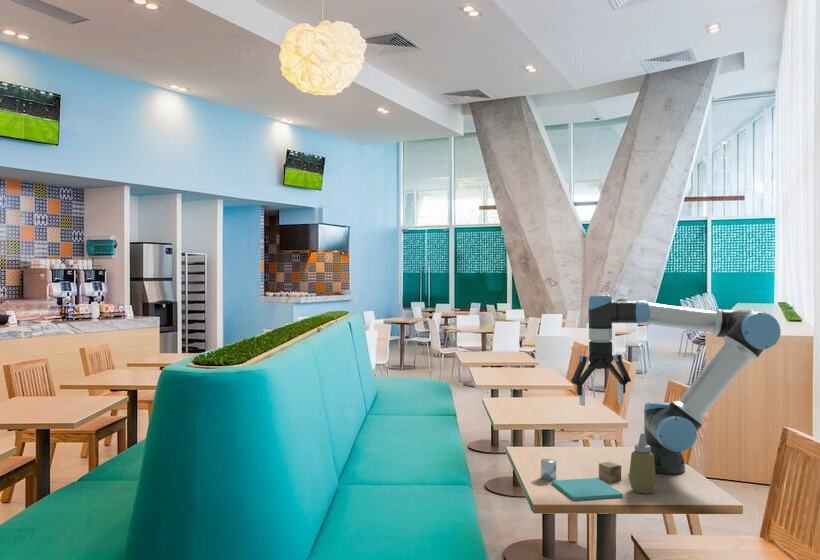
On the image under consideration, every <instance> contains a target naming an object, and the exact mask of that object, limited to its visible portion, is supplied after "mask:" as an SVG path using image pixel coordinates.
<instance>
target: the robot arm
mask: <svg viewBox="0 0 820 560" xmlns="http://www.w3.org/2000/svg"><path fill="white" fill-rule="evenodd" d="M613 324H637V325H638V324H645V325H653V326H659V327H660V326H661V327H668V328H674V329H681V330H688V331H695V332H696V331H697V332H702V333H708V334H709V333H710V334H711V335H712V336H713V337H718V338H724V340H723V341H724V344H723V345H722V346H721V348H720V349H719V350H718V352H717V353H716V354H715V355H714V356H713V358H712V359H711V360H710V361H709V363H708V364H707V365H706V366H705V368H704V369H703V370H702V371H701V373H700V374H698V376H697V377H696V379H695V380H694V381H693V383H692V384H691V385H690V386H689V387H688V388H687V390H686V391H685V392H684V394H683V395H682V396H681V397H680V398H679V399H678V400H672V401H671V402H658V401H651V402H646V403H645V404H644V410H643V413H644V414H643V415H644V416H643V418H644V419H643V420H644V422H643V423H644V424H643V427H644V428H643V432H644V433H643V434H645V438H646V443H647V445H650V446H651V451H650V452H651V453H652V454H653V455H654V463H655V473H656V474H664V475H677V474H678V475H679V474H682V473H685V471H686V463H685V462H686V461H685V460H684V457H683V456H684V455H683V453H682V452H684V451H686V450H689V449H690V448H692V447H693V446H694V445H695V443H696V441H697V437H698V431H699V430H700V429H701V428H702V426H703V425H704V423H703V422H704V421H703V417H704V415H706V413H707V412H708V410H710V409H711V407H712V406H713V405H714V404H715V402H717V400H718V398H720V396H721V395H722V394H723V392H724V391H725V390H726V388H727V387H729V385H730V384H731V383H732V381H733V380H734V379H735V378H736V377H737V375H738V374H739V373H740V371H741V370H742V369H743V368H744V366H746V364H747V363H748V362H749V361H750V360H757V359H758V358H759V357H760V355H761V354H762V353H763V352H764V350H768V349H770V348H772V347H774V346H775V345H777V343H778V342H779V340H780V337H781V331H782V330H781V326H780V323H779V322H778V320H777V319H776V318H775V316H773V315H771V314H770V313H767V312H766V311H763V310H751V309H721V308H716V309H715V310H714V311H713V310H707V309H698V308H692V307H685V306H678V305H670V304H669V305H668V304H663V303H654V302H648V301H647V300H640V299H637V300H631V299H625V298H619V299H616V300H613V297H612V295H610V294H592V295H590V296H589V297H588V339H589V342H588V352H589V353H588V354H589V355H588V356H587V355H586V356H585V355H580V356H579V363H578V365H577V367H576V369H575V372H574V374H573V376H572V378H571V380H570V382H571V384H573V385H576V395H577V396H579V397H578V398H579V405H580V406H582V407H585V406H586V390H585V389H586V386H585V385H584V384H585V383H586V381H587V380H588V379H589V377H590V376H591V375H592V373H593V372H594V371H595V370H602V369H603V370H606V369H608V371H610V373H611V374H612V375H613V376H614V378H615V379H616V380H617V381H618V383H617V384H616V395H617V396H616V398H617V399H616V400H617V401H616V403H618V404H620V405H624V394H626V385H627V384H628V383H631V382H632V380H631V377H630V375H629V373H628V371H627V368H626V367H625V365H624V362H623V359H622V355H621V354H614V355H613V342H612V341H613ZM613 361H614V362H615V364H616V366H617V368H618V370H619V372H620V373H619V372H618V370H617V369H616V368H615V366H614V365H613V364H612V362H613ZM588 362H589V364H588V365H587V363H588ZM586 365H587V368H586V369H585V367H586Z"/></svg>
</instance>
